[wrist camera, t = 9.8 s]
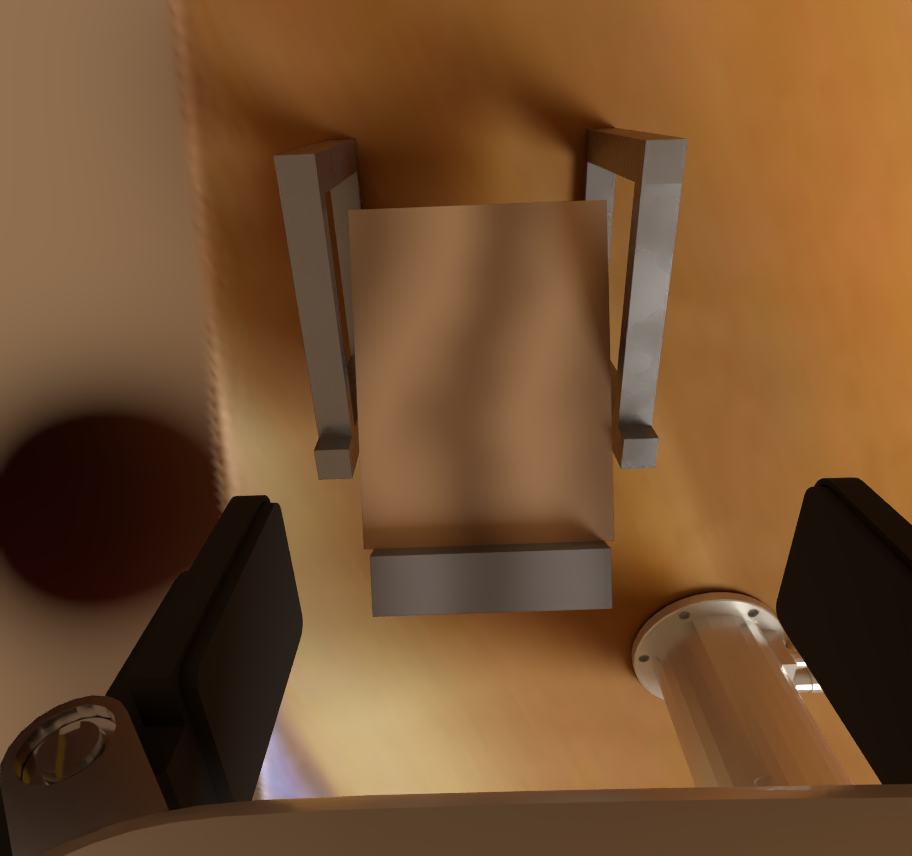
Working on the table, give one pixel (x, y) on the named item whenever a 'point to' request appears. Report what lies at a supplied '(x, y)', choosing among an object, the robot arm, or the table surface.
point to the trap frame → (648, 265)
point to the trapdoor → (484, 406)
